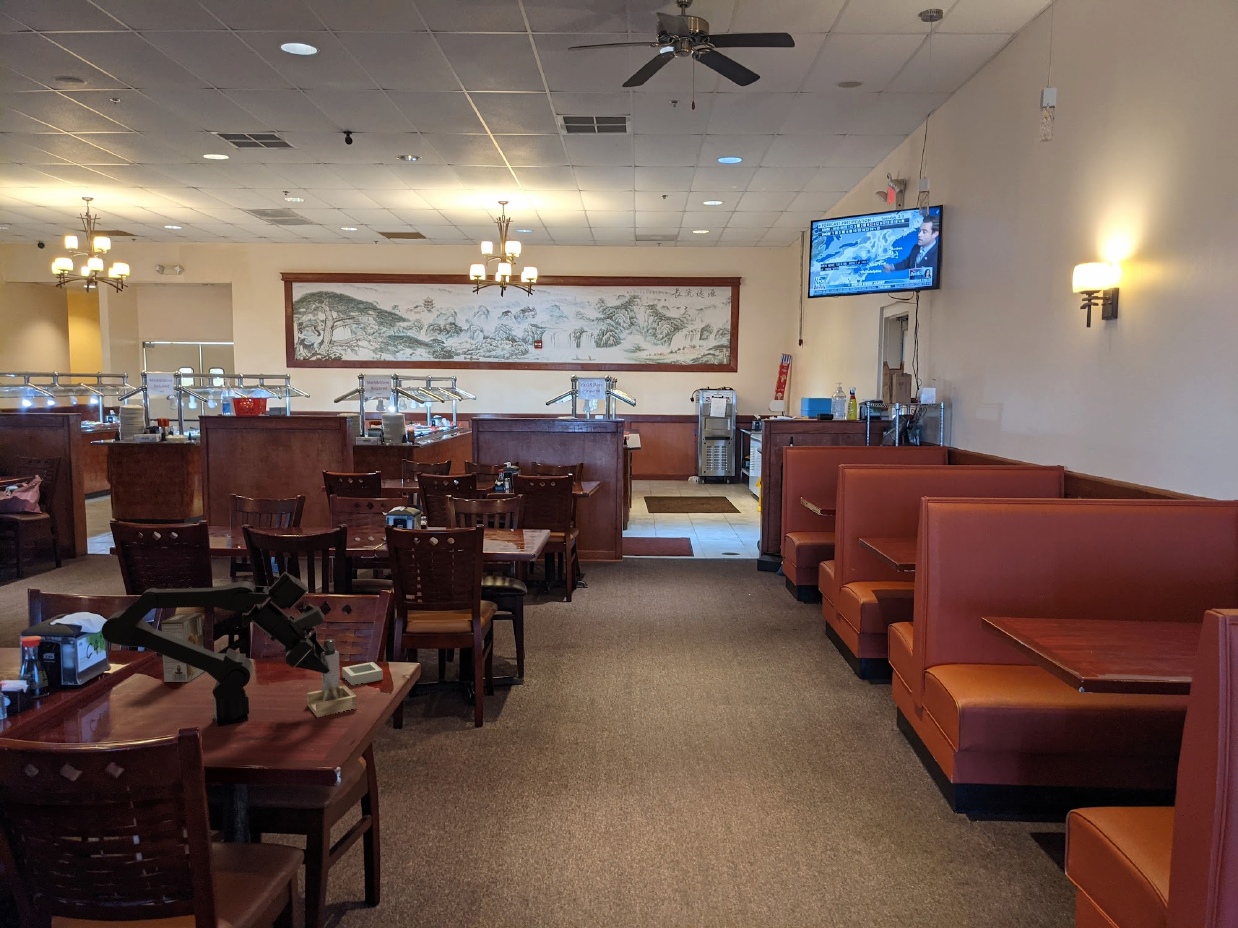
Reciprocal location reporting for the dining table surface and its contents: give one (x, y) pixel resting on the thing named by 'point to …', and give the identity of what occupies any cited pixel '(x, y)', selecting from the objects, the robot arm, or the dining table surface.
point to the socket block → (362, 673)
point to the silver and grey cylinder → (330, 672)
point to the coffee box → (187, 630)
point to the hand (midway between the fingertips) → (328, 665)
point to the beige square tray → (332, 702)
